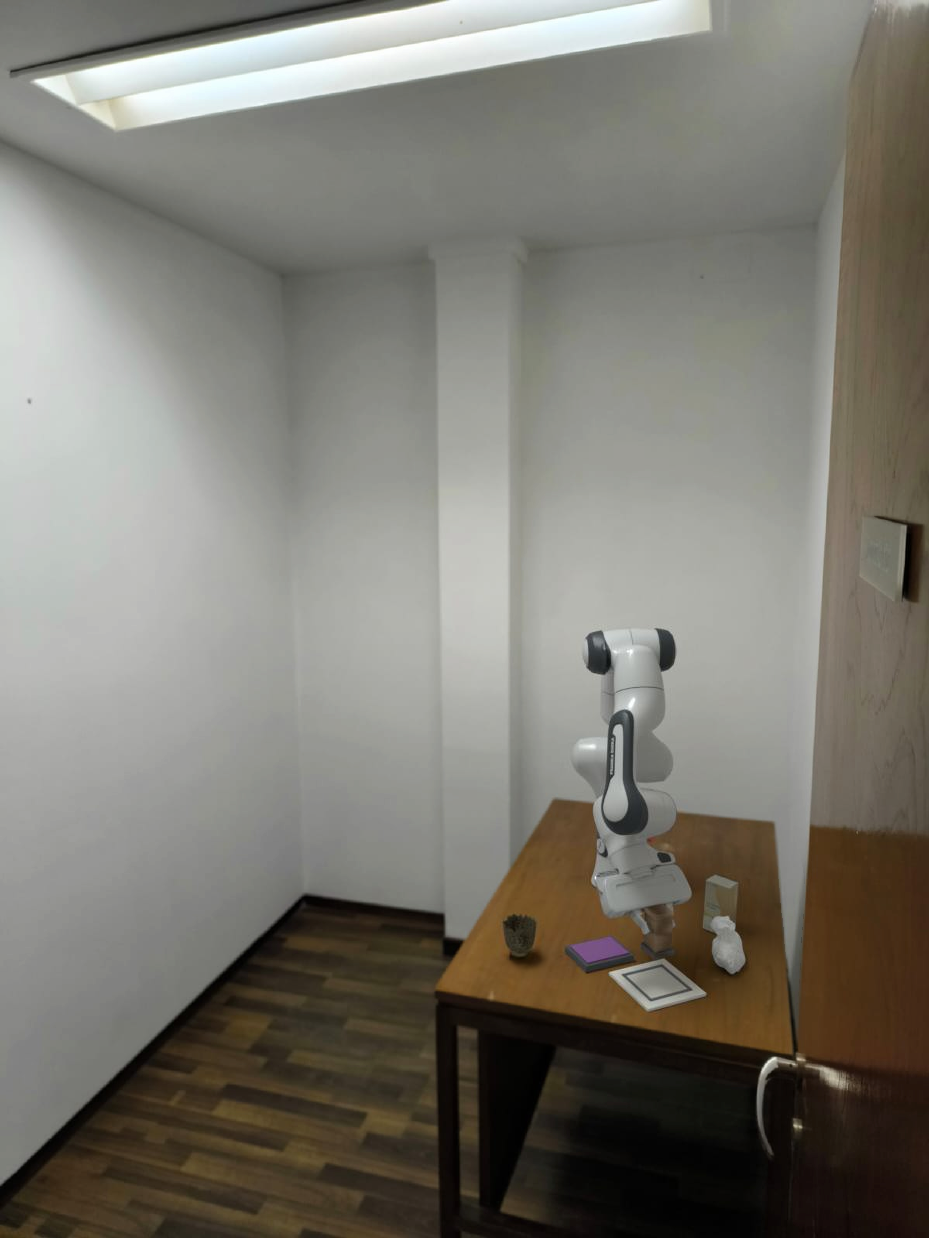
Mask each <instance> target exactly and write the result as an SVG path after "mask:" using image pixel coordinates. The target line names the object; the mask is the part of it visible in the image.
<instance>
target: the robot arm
mask: <svg viewBox="0 0 929 1238" xmlns="http://www.w3.org/2000/svg"><path fill="white" fill-rule="evenodd" d="M581 652H582V653H581V654H582V660H583V662H584V665H585V667H586V669H587V670H588V671H589V672H590V673H592V674H596V675H600V677H601V678H600V716H601V718H602V720H603V722H604V723H605V724H606V725H608V729H607V730H608V731H607V736H592V737H590V736H589V737H584V738H580V739H578V741H577V742H576V743H575V744H574V746H573V747H572V751H571V763H572V767H573V769H574V771H575V772H576V773H577V774H578V775H579V776H581V778H583V779H584V780H585V782H587V784H588V785H589V786H590V788H591V789H592V791H593V793H594V795H595V798H596V800H595V802H594V803H593V807H592V815H593V819H594V823H595V826H596V843H595V844H596V860H595V863H594V864H595V865H594V867H593V868H594V869H593V873H592V876H591V880H590V882H591V884H592V886H593V887H595V888H596V890H597V892H598V895H599V901H600V903H601V904H600V905H601V908H602V912H603V913H604V915H605V916H606V917H607V918H608V919H610V920H611V919H614V918H619V917H625V916H630V917H631V920H632V922H634V923H635V924H636V925H637V926H638V927H640V929H641V931H642V935H643V936H644V935H646V934H650V933H651V932H653V928H652V927H651V923H647V922H646V921H645V920H644V917H642V915H643V912H644V911H643V908H646V907H651V906H656V905H660V904H663V905H665V906H666V907H667V908H669V909H670V910H672V911H673V912H674V907H673V906H676V905H682V904H685V903H686V902H687V901H689V900H691V897H692V895H693V894H692V889H691V887H690V884H689V882H688V880H687V878H686V876H685V873H684V872H683V870H682V869H681V868H680V867H679V865H676V864H675V863H676V858H675V855H674V854H673V853H671V852H668V851H667V852H666V851H662V850H656V849H654V847H652V846H650V844H648V843H647V842H649V843H653V842H655V840H656V837H659V836H661V835H665V834H667V833H669V831H671V830H672V829H673V828H674V826H675V825H676V822H677V817H678V810H677V806H676V803H675V801H674V799H673V798H672V796H670V794H669V793H667V792H665V791H662V790H658V789H653V788H644V787H640V786H639V784H638V783H640V784H651V783H659V782H664V781H666V780H667V779H668V778H669V777H670V775H671V773H672V771H673V768H674V757H673V753H672V751H671V749H670V748H669V747H668V746H667V744H665V743H664V742H662V740H660V739H659V738H658V737H657V736H656V734H655V733H654V730H656V729H657V728H658V727H659V726H660V725H661V723H662V722H663V720H664V719H665V716H666V696H665V687H664V680H663V675H662V674H663V672H666V671H669V670H670V669H671V668H672V667H673V666H674V665H675V661H676V658H677V652H678V651H677V643H676V640H675V638H674V635H673V634H672V633H671V632H670V630H667V629H663V628H658V627H655V628H653V629H652V628H644V627H643V628H642V627H628V628H620V629H609V630H604V631H603V630H602V629H601V630H597V631H591V632H590V633H588V634H587V636H585V639H584V643H583V646H582V650H581ZM644 913H645V912H644ZM674 928H676V923H675V921H674V920H673V925H672V929H674Z"/></svg>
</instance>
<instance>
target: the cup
mask: <svg viewBox="0 0 929 1238" xmlns="http://www.w3.org/2000/svg"><path fill="white" fill-rule="evenodd" d="M537 925H538V921H537V920H536V918H535V917H533V918H532V916H531V915H528V914H527V913H526V914H525V915H524V916H523V914H522V913H519V915H518V914H516V913H512V914H511V915H507V917H506V920H505V918H503V920H502V927H503V928H502V929H503V935H504V936H503V937H504V941H505V945H506V947H507V948H508V949H509V950H510V954H511V956H512V957H513V958H515V959H519V960H521V959H525V958H527V956H528V955H529V951H530V950H532V947H534V943H535V938H536V932H537Z"/></svg>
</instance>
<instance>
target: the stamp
mask: <svg viewBox="0 0 929 1238" xmlns="http://www.w3.org/2000/svg"><path fill="white" fill-rule="evenodd" d="M643 911H644V915H643V919H644V920H645V921H646V922H647V923H651V927H652V928H653V932H651V933H650V934H646V935H644V934H643V941H642V942H641V941H640V949H641V950H642V951H643V952H645V953H646V954H647V955H648V956H650V957H651V958H652V959H653V961H656V960H660V959H664V958H667V957H670V956H674V955H675V948H674V947H672V946H673V928H672V925H673V921H674V917H675V912H674V910H673V911H672V910H670V909H669V908H667V907H666V906H665V905H663V904H660V905H656V906H651V907H646V908H643Z"/></svg>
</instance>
